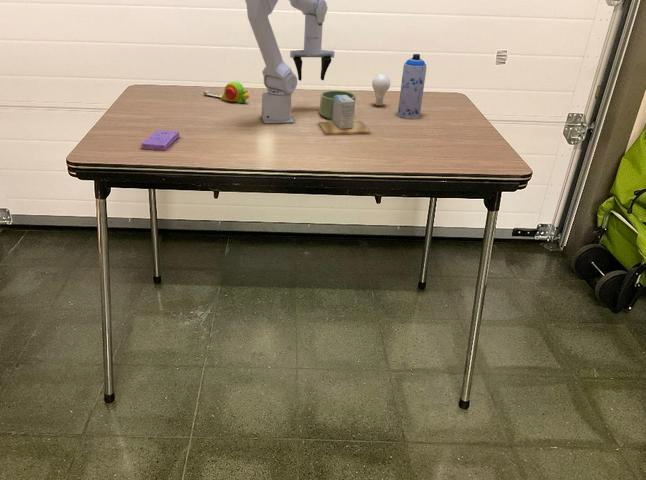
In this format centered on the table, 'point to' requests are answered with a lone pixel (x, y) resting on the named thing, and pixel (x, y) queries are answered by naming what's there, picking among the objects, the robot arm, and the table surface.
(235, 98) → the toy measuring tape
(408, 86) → the aerosol can
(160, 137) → the sponge
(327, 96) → the pot
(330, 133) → the board
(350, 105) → the medicine box
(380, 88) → the lightbulb
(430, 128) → the table surface
